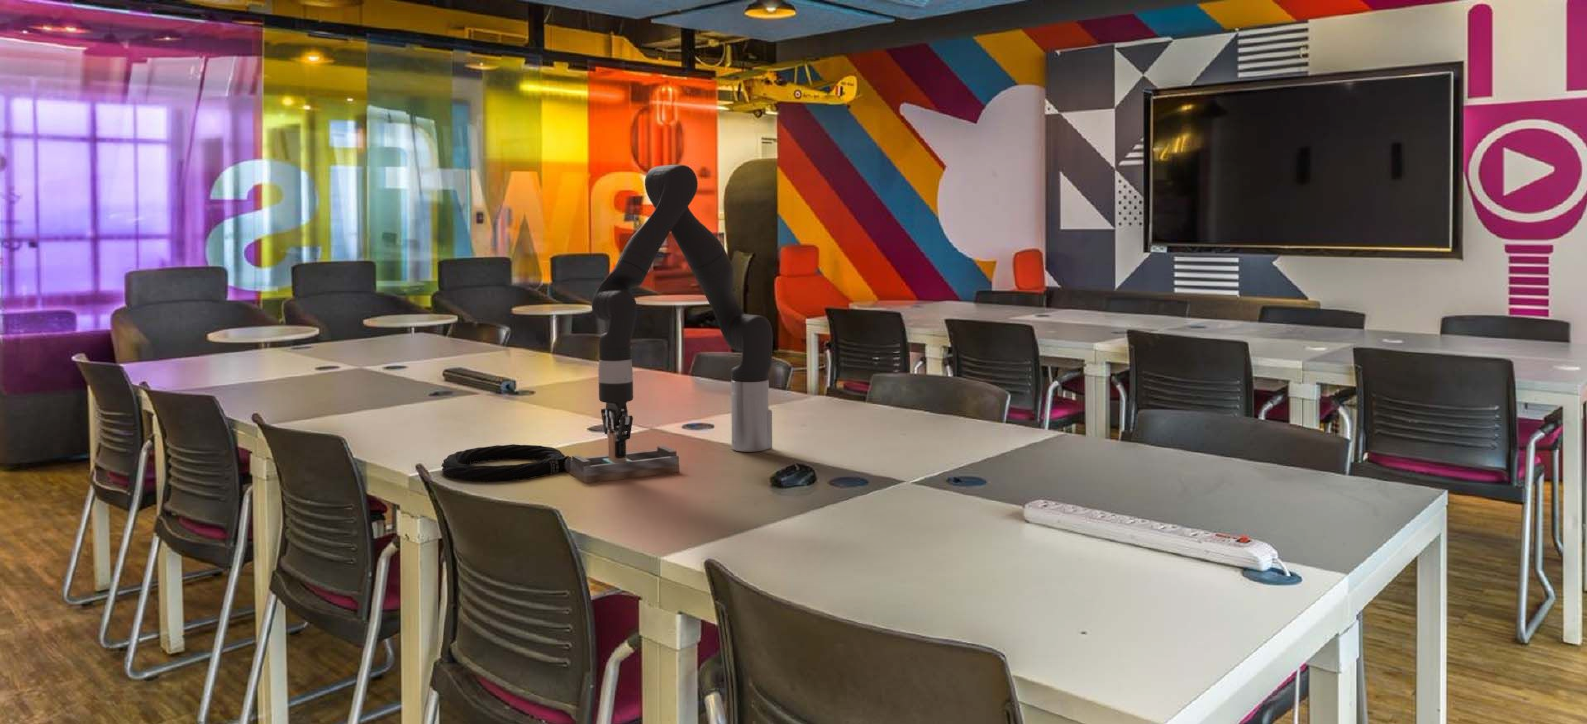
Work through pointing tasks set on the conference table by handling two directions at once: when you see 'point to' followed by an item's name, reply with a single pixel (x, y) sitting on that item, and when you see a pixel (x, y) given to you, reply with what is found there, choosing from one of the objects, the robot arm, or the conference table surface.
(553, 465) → the cable lock
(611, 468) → the board
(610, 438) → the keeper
